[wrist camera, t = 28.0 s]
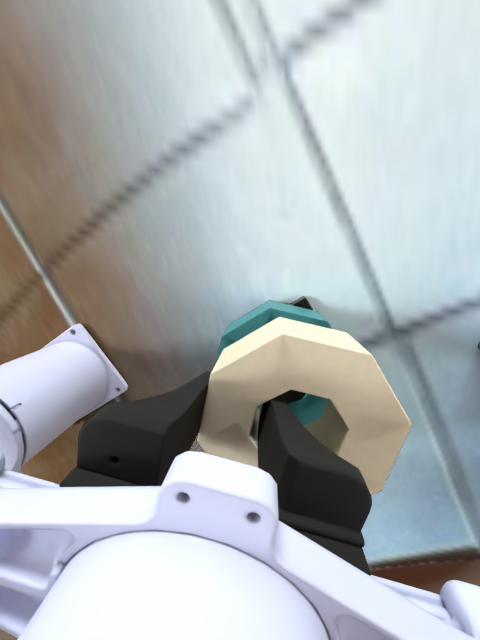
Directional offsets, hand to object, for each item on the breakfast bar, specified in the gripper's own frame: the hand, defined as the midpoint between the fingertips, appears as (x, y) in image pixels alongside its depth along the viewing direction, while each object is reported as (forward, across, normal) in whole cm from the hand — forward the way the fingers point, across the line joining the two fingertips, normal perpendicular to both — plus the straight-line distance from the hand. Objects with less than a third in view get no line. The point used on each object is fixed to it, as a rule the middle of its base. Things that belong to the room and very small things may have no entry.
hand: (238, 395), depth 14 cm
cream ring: (+1, -3, 0) cm, 3 cm away
